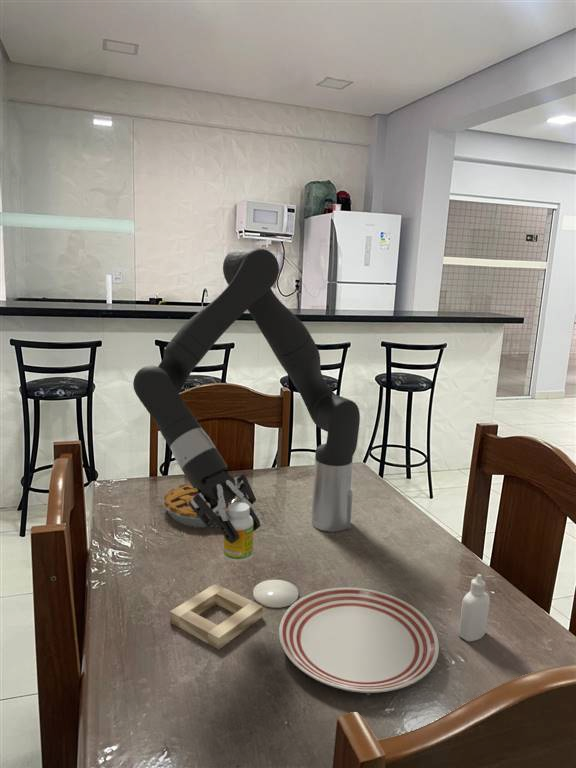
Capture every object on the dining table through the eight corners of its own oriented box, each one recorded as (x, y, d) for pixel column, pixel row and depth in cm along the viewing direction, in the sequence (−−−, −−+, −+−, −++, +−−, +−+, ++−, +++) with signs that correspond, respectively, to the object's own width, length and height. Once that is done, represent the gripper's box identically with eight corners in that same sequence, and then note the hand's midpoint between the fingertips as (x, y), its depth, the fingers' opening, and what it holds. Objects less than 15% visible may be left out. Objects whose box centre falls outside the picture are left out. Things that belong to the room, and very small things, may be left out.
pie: (147, 507, 155) (147, 489, 153) (217, 488, 169) (217, 472, 167) (191, 539, 138) (191, 519, 137) (264, 515, 152) (264, 497, 151)
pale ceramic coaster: (294, 581, 122) (294, 578, 122) (302, 606, 113) (302, 603, 113) (251, 583, 121) (251, 580, 120) (255, 609, 112) (255, 606, 112)
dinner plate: (402, 734, 84) (404, 714, 84) (247, 660, 98) (247, 642, 97) (457, 635, 107) (459, 619, 106) (325, 586, 121) (326, 571, 120)
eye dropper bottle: (452, 627, 109) (459, 568, 106) (481, 626, 110) (488, 568, 107) (462, 642, 105) (469, 582, 102) (492, 641, 105) (500, 581, 103)
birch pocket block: (214, 593, 116) (215, 583, 116) (262, 616, 110) (262, 606, 109) (169, 622, 107) (169, 611, 106) (218, 649, 100) (218, 638, 100)
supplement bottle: (248, 564, 106) (249, 514, 103) (219, 560, 107) (219, 511, 104) (255, 549, 111) (256, 502, 108) (228, 546, 112) (228, 498, 109)
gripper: (180, 457, 103) (231, 541, 99) (234, 438, 114) (282, 511, 110) (160, 478, 107) (208, 559, 103) (214, 457, 118) (259, 529, 114)
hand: (246, 534), depth 107 cm, fingers closed on supplement bottle, 5 cm apart
